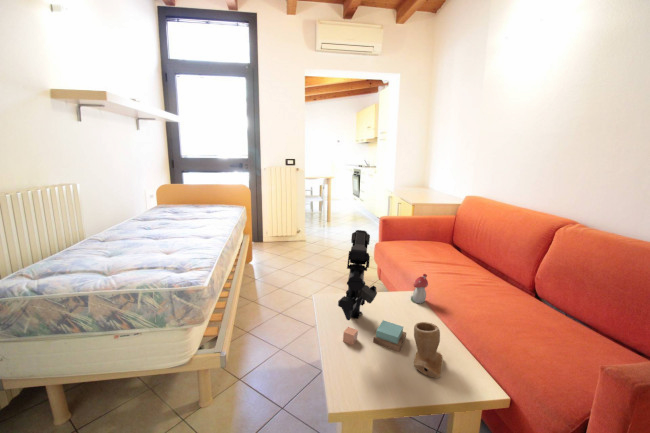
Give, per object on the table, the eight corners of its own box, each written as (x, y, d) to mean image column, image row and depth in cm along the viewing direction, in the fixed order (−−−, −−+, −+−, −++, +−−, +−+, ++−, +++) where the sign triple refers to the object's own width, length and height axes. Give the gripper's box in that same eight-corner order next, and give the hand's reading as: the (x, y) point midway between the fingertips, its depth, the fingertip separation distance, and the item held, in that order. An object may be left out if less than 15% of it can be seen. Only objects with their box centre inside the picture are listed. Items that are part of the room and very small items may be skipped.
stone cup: (413, 347, 125) (417, 314, 122) (443, 357, 120) (449, 323, 117) (405, 370, 112) (410, 333, 108) (439, 382, 107) (445, 345, 103)
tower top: (382, 326, 134) (383, 320, 134) (402, 332, 130) (403, 326, 130) (375, 336, 127) (376, 330, 126) (397, 344, 123) (397, 337, 122)
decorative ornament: (421, 296, 169) (425, 271, 166) (429, 302, 164) (433, 276, 160) (407, 299, 166) (411, 273, 163) (415, 305, 160) (419, 278, 157)
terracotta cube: (347, 336, 130) (348, 326, 129) (357, 339, 128) (357, 330, 127) (342, 341, 126) (343, 331, 125) (352, 345, 124) (353, 335, 123)
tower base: (381, 330, 136) (381, 324, 136) (405, 338, 132) (406, 332, 131) (372, 343, 127) (373, 337, 126) (398, 352, 122) (399, 346, 121)
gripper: (366, 294, 109) (362, 332, 112) (383, 276, 125) (379, 310, 128) (338, 286, 114) (335, 323, 117) (357, 270, 130) (354, 303, 133)
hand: (352, 314), depth 124 cm, fingers open, 9 cm apart
